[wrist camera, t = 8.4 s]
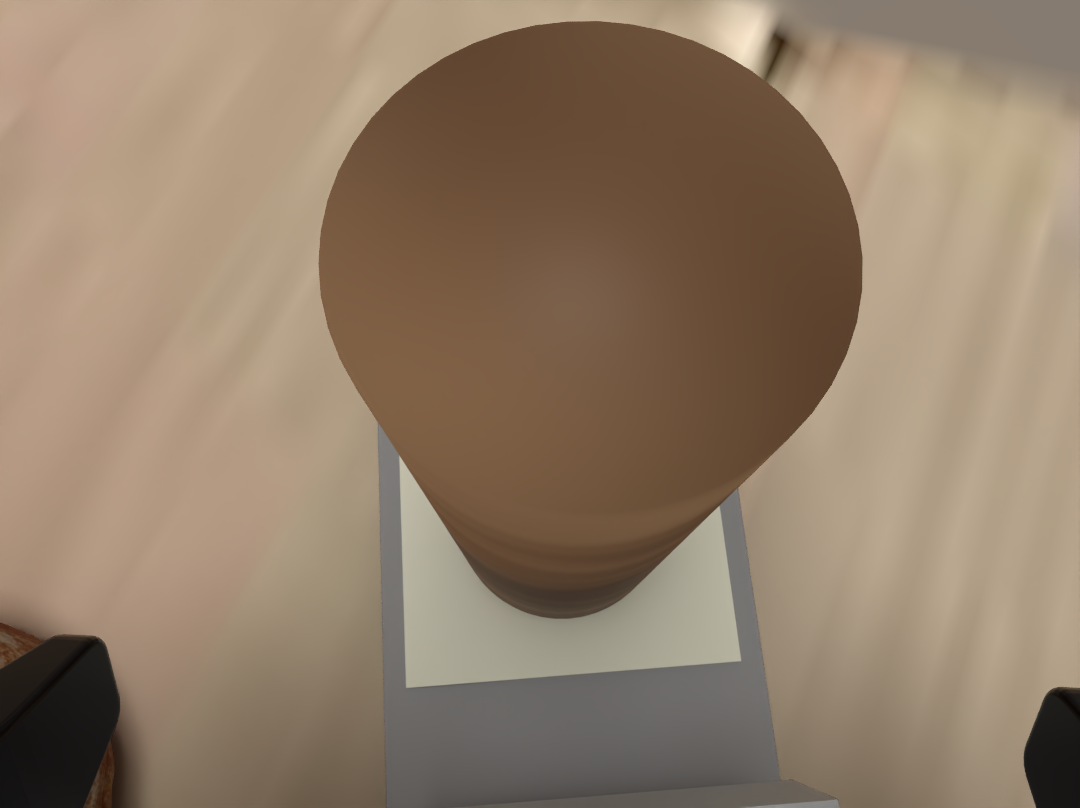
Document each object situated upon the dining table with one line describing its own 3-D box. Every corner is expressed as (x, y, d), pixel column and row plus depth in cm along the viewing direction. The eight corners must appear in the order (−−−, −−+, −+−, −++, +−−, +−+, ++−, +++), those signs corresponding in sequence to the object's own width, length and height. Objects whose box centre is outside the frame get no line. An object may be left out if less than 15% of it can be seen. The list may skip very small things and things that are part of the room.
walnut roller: (573, 664, 18) (631, 639, 6) (415, 524, 19) (204, 270, 7) (704, 502, 19) (968, 217, 7) (549, 376, 20) (558, -61, 8)
